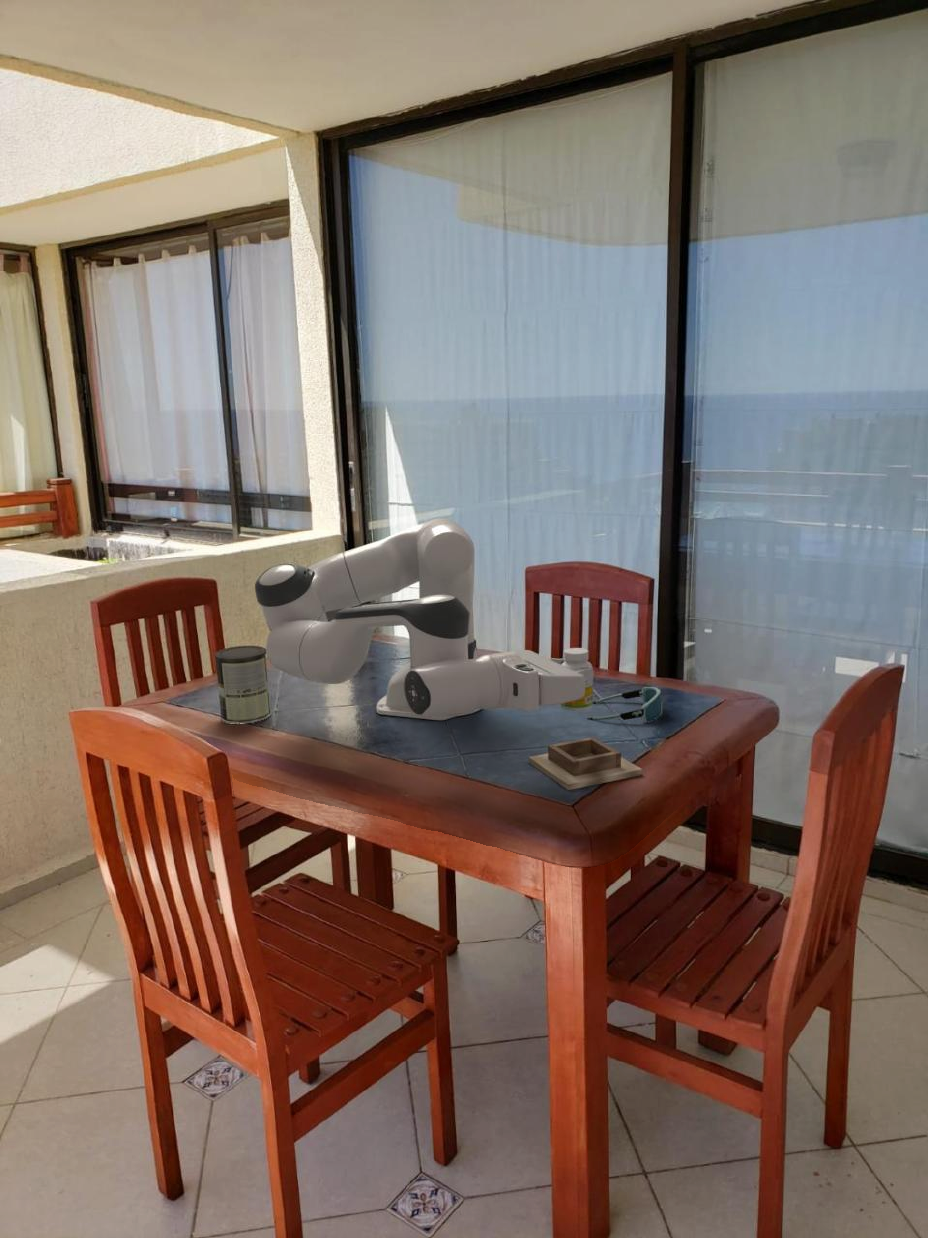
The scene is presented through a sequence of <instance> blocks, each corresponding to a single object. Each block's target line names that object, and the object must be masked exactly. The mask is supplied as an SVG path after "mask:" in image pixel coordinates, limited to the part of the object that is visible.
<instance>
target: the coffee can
mask: <svg viewBox="0 0 928 1238" xmlns="http://www.w3.org/2000/svg"><path fill="white" fill-rule="evenodd" d="M214 658H215V659H214V660H215V668H216V676H217V685H218V687H217V688H218V697H219V707H220V720H221V719H222V720H223V721H224V722H228V723H234V724H237V723H238V724H240V723H252V722H257V721H260V722H262V721H261V720H263V721H265V720H267V719H268V718H267V717H269V716H270V714H271V715H272V712H271V711H272V710H271V701H270V691H269V690H270V689H269V680H268V666H267V654H266V647H263V646H259V645H237V646H232V647H231V646H230V647H226V648H223V649H220V650H218V651H216V652H215V653H214ZM270 717H271V716H270ZM270 717H269V718H270ZM266 718H267V719H266ZM264 719H265V720H264ZM222 720H221V721H222ZM224 722H223V723H224ZM257 723H258V722H257ZM252 724H253V723H252Z"/></svg>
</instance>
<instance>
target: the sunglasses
mask: <svg viewBox="0 0 928 1238" xmlns="http://www.w3.org/2000/svg"><path fill="white" fill-rule="evenodd" d="M619 698H623V699H625V700H629V699H633V698H634V699H635V698H641V699H642V702H643V703H644V704H643V705H641V709H636V710H631V711H627V712H624V713H623V712H621V713H617V714H613V715H608V716H598V717H588V718H586V720H591V721H597V722H602V721H608V720H609V721H610V720H615V719H620V718H621V720H624V721H627V720H633V719H637V718H641V719H642V722H644V723H646V722H648V721H651V720H653V719H655V718H657V717H658V716H660V715H661V714H663V701H662V700H661V699H662V698H661V689H659V687H658V688H657V687H654V686H644V687H642V688H641V689H638V690H631V691H627V692H621V693H618V694H617V693H616V694H614V695H611V696H606V697H603V698H601V699H597V700H596V701H593V705H597V704H601V703H605V702H608V701H611V700H614V699H619ZM661 716H662V715H661ZM657 719H658V718H657ZM655 720H656V719H655ZM653 721H654V720H653ZM651 722H652V721H651ZM648 723H649V722H648Z"/></svg>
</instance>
